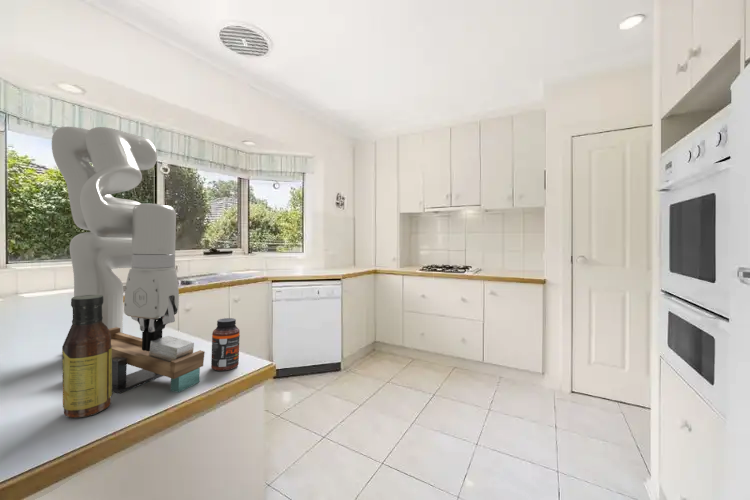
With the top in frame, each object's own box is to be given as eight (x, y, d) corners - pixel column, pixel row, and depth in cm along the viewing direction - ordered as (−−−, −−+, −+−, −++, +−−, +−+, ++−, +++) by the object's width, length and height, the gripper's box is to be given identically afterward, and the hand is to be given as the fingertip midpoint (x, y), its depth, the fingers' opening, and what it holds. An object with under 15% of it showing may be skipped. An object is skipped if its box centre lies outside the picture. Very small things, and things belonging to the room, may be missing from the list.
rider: (148, 360, 64) (150, 340, 64) (166, 353, 68) (168, 335, 67) (175, 368, 62) (177, 348, 62) (192, 361, 66) (194, 342, 66)
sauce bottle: (84, 401, 56) (86, 292, 56) (120, 401, 57) (122, 293, 57) (49, 422, 50) (51, 298, 50) (91, 421, 50) (93, 299, 50)
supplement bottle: (227, 373, 71) (229, 323, 71) (205, 370, 72) (206, 321, 72) (244, 363, 77) (245, 317, 76) (222, 361, 78) (223, 316, 78)
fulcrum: (61, 381, 64) (61, 353, 64) (126, 360, 77) (127, 336, 77) (159, 401, 57) (159, 370, 57) (214, 374, 70) (214, 348, 70)
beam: (77, 360, 67) (79, 335, 67) (116, 349, 74) (118, 326, 74) (170, 392, 60) (173, 363, 60) (203, 376, 67) (206, 350, 67)
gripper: (109, 262, 64) (107, 350, 65) (164, 265, 60) (162, 359, 60) (144, 260, 72) (143, 340, 72) (196, 263, 67) (194, 347, 68)
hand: (152, 348), depth 66 cm, fingers closed
